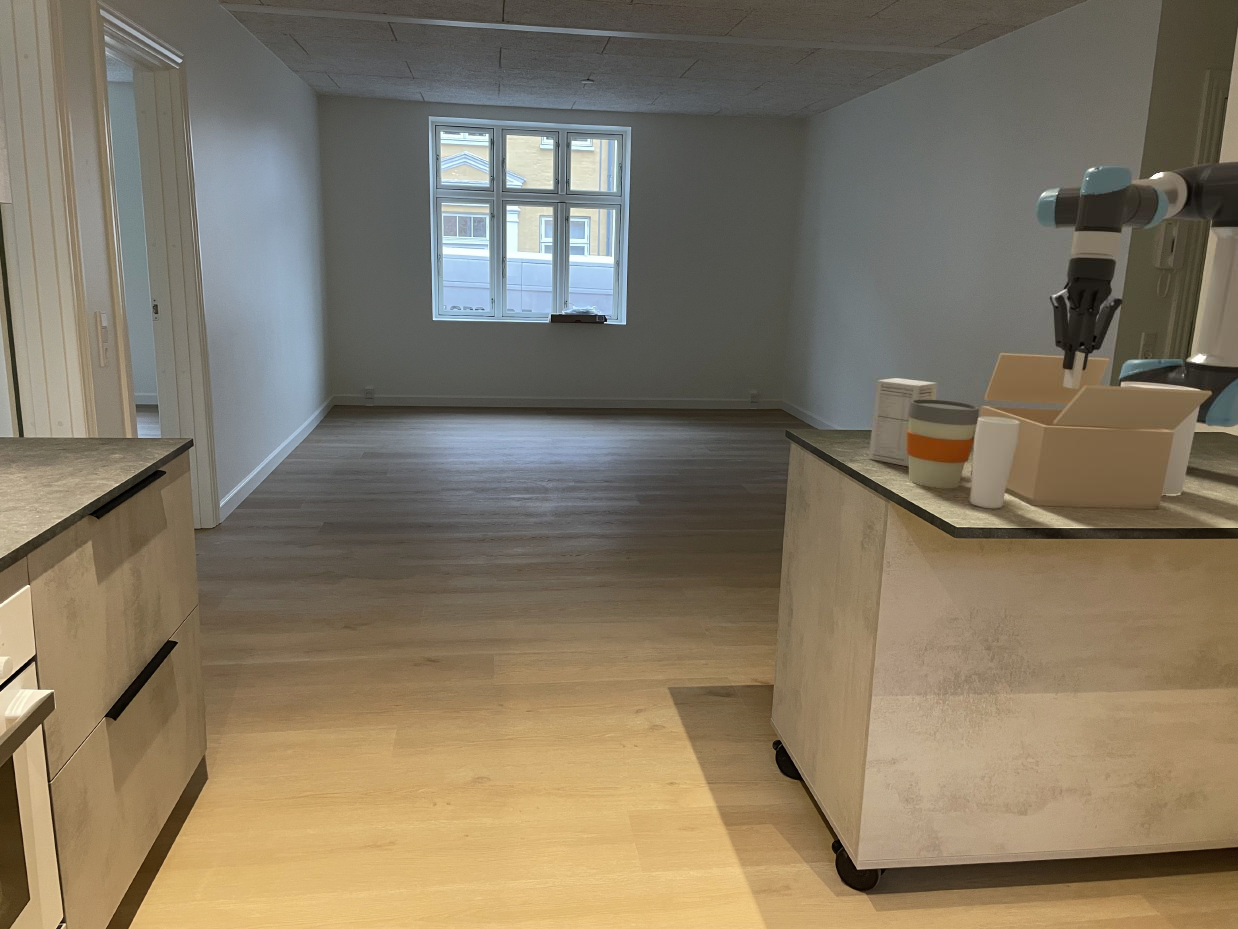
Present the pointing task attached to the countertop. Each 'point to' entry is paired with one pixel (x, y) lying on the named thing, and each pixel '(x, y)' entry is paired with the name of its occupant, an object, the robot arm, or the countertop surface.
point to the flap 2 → (1131, 407)
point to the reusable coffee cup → (939, 441)
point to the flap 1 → (1038, 379)
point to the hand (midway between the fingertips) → (1070, 387)
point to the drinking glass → (992, 460)
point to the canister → (1175, 442)
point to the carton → (1084, 462)
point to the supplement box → (895, 417)
